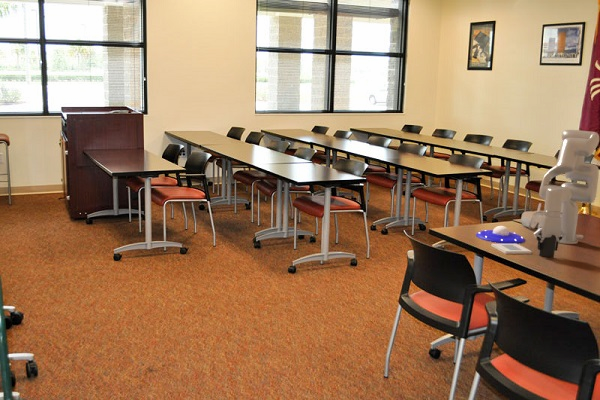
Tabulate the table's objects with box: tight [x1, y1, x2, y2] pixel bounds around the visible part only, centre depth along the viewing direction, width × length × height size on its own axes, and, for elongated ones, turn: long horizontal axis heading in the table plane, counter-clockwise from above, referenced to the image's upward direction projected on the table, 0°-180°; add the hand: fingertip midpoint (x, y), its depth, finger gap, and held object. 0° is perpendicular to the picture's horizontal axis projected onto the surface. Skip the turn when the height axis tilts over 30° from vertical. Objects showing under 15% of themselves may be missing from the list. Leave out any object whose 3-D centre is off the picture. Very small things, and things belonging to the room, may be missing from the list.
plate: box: [490, 243, 532, 255], centre depth 321 cm, size 14×14×1 cm
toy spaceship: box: [475, 225, 526, 245], centre depth 344 cm, size 25×25×7 cm
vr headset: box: [520, 202, 544, 230], centre depth 371 cm, size 18×11×14 cm, turn 98°
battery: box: [538, 235, 557, 259], centre depth 311 cm, size 7×4×11 cm, turn 64°
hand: (547, 249), depth 311 cm, fingers closed on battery, 7 cm apart
